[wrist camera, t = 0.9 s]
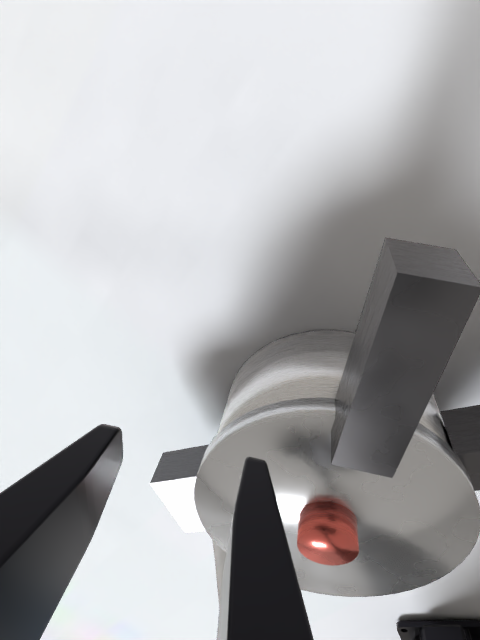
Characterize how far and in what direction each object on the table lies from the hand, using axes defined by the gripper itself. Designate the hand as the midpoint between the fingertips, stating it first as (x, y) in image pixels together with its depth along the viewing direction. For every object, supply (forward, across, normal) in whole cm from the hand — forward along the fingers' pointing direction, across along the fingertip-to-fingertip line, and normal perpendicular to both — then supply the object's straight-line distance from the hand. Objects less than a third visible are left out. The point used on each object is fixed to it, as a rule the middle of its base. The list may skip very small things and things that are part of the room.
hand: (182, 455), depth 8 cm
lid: (+7, -5, +6) cm, 10 cm away
